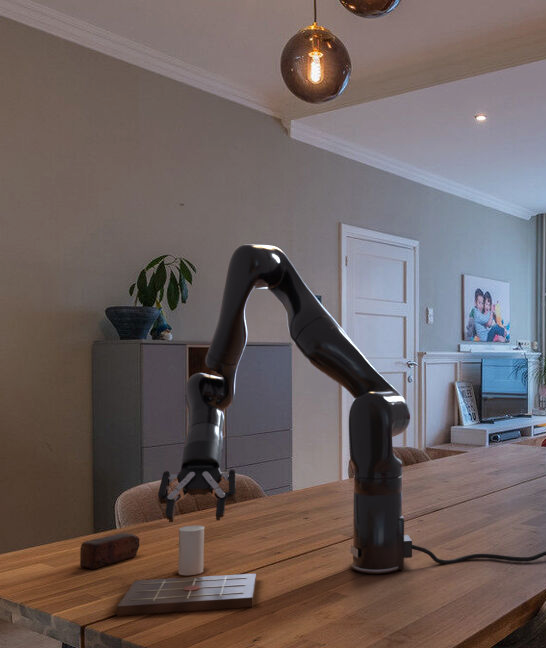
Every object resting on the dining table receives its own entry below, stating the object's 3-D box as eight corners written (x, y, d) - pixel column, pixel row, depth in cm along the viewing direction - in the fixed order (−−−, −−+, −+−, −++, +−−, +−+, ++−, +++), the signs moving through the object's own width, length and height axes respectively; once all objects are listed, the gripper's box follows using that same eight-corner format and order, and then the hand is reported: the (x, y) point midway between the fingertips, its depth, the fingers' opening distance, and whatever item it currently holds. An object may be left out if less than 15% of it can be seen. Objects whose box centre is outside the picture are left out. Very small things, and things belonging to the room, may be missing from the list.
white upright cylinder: (204, 567, 136) (205, 524, 137) (201, 574, 132) (202, 530, 132) (180, 569, 135) (180, 525, 136) (176, 576, 131) (177, 531, 131)
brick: (94, 570, 134) (95, 544, 135) (79, 567, 136) (80, 542, 136) (139, 556, 144) (140, 532, 144) (124, 553, 146) (125, 530, 146)
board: (256, 582, 128) (256, 572, 128) (252, 607, 115) (252, 596, 115) (134, 589, 124) (134, 579, 124) (116, 616, 111) (117, 605, 111)
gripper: (164, 439, 146) (152, 509, 134) (238, 438, 149) (232, 506, 137) (168, 462, 151) (157, 531, 139) (239, 460, 154) (234, 528, 142)
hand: (194, 519), depth 138 cm, fingers open, 8 cm apart
